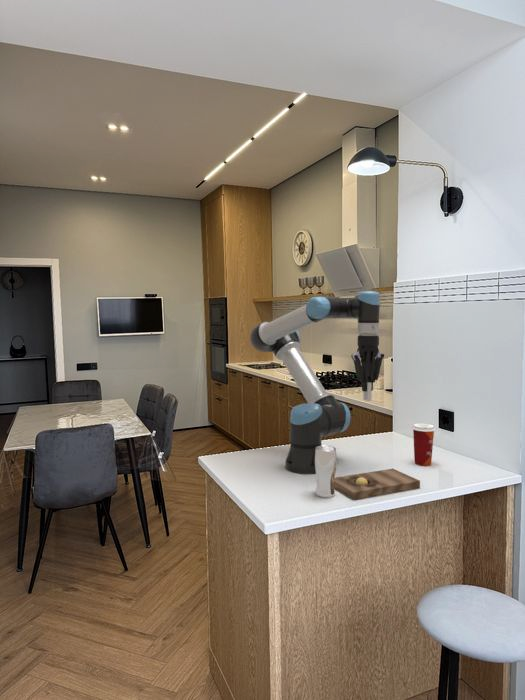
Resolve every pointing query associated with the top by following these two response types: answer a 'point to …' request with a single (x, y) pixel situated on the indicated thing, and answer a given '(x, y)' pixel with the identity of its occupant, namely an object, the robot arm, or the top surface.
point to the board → (375, 484)
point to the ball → (361, 481)
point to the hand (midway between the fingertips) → (367, 400)
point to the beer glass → (325, 470)
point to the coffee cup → (423, 443)
